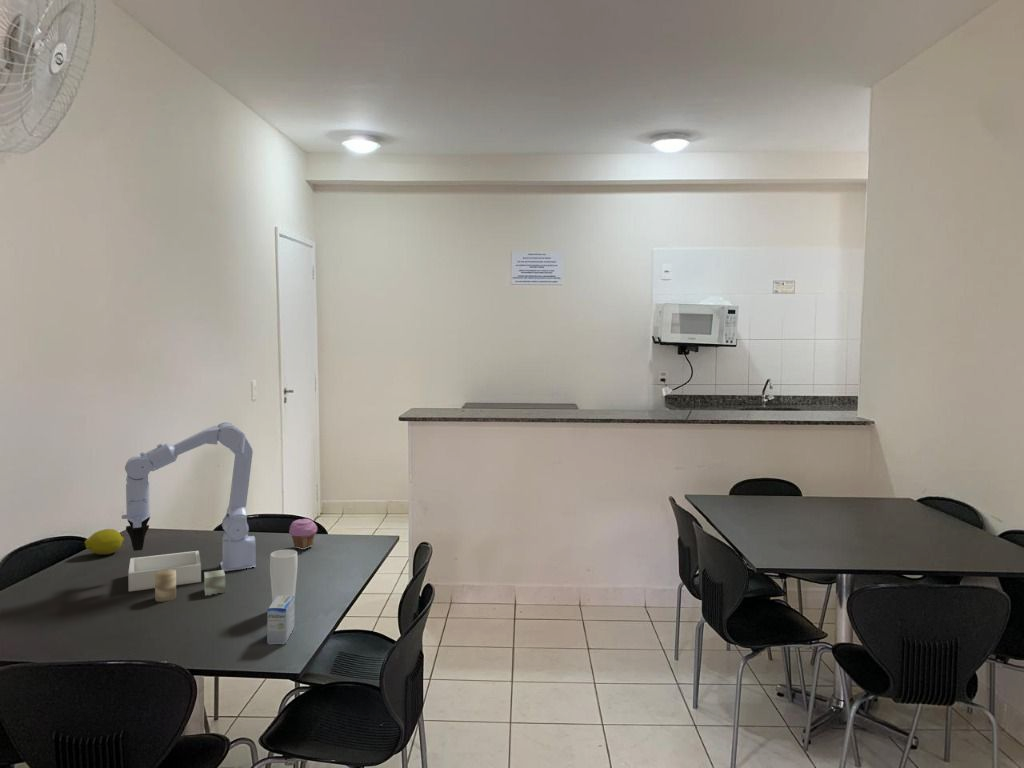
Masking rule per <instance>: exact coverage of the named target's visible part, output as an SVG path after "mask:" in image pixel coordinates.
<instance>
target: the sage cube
mask: <svg viewBox="0 0 1024 768" xmlns="http://www.w3.org/2000/svg"><path fill="white" fill-rule="evenodd" d="M203 575H204V576H203V580H204V581H203V582H204V583H203V585H204V586H203V590H204V595H205V597H207V595H208V596H213V595H212V594H215V595H218V594H217V593H222V594H224V593H223V592H225V593H226V574H225V571H224V570H222V569H219V570H211V571H204V572H203Z"/></svg>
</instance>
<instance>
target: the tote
mask: <svg viewBox="0 0 1024 768" xmlns="http://www.w3.org/2000/svg"><path fill="white" fill-rule="evenodd" d="M128 566H129V568H128V578H127V579H128V583H127V584H128V592H135V591H144V590H149V589H150V590H151V589H155V573H156V572H158V571H161V570H166V569H173V570H176V586H180V585H188V584H189V585H190V584H194V583H201V582H202V562H201V557H200V551H199V550H195V551H194V550H193V551H183V552H175V553H166V554H158V555H149V556H139V557H138V556H137V557H130V560H129V565H128Z"/></svg>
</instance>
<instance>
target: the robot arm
mask: <svg viewBox="0 0 1024 768" xmlns="http://www.w3.org/2000/svg"><path fill="white" fill-rule="evenodd" d="M218 442H219V443H220V444H221V445H223V446H224V447H225V448H228V449H229V451H231V452H232V453H233V454H234V461H233V469H232V479H231V484H230V486H231V487H230V494H229V502H228V507H227V508H226V513H225V516H224V518H223V519H222V521H221V528H222V529H223V530H224V531H225V532H224V534H223V536H222V543H221V544H222V561H221V562H220V563H219V565H220V568H221V569H220V570H224V572H229V571H237V570H245V569H246V568H247V569H253V568H252V567H254V568H256V567H257V566H256V565H257V564H256V562H257V561H256V559H257V553H256V550H257V549H256V537H255V535H249V531H250V528H249V527H250V526H249V524H248V522H247V520H248V519H247V518H248V513H247V504H248V503H247V501H248V495H249V485H250V478H251V477H250V476H251V469H252V460H253V455H254V454H253V453H254V452H253V451H254V450H253V447H252V446H251V444H250V442H249V440H248V439H247V437H246V434H245V433H244V432H243V431H242V430H241V429H239V428H238V427H236V426H235V425H233V424H232V423H231V422H221V423H219V424H218V425H213V426H210V427H208V428H205V429H203V430H201V431H199V432H197V433H195V434H193V435H191V436H189V437H187V438H185V439H183V440H181V441H179V442H176V443H175V444H170V443H164V444H162V443H159V444H157V445H156V447H155V448H153V449H151V450H148V451H146V452H144V451H143V452H140V453H139V455H138V456H137V455H135V456H132V457H131V458H128V460H127V461H126V463H125V466H124V470H125V473H126V484H125V501H126V512H125V513H126V514H122V515H121V519H122V520H127V522H128V524H129V525H127V526H125V531H126V532H127V533H128V536H129V538H130V541H131V546H132V549H133V552H135V551H142V550H143V549H144V543H145V537H146V535H147V531H148V530H149V527H150V524H148V523H149V521H150V518H151V512H150V511H151V510H150V482H149V474H150V472H155V471H158V470H159V469H161V468H164V467H165V466H168V465H171V464H173V463H174V462H176V460H177V459H178V457H179V456H180V455H182V454H184V453H187V452H189V451H191V450H193V449H196V448H198V447H201V446H205V445H218Z"/></svg>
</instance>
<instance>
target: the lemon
mask: <svg viewBox="0 0 1024 768" xmlns="http://www.w3.org/2000/svg"><path fill="white" fill-rule="evenodd" d="M124 540H125V538H124V537H123V536H122V535H121V533H120V532H119V531H118V530H116V529H112V528H111V529H110V528H106V529H102V530H98V531H96V532H94V533H93V534H92V535H91V536H89V537H88V538H87V539H85V540H84V546H85V548H86V549H88V550H89V551H90V552H92V553H94V554H96V555H101V556H105V555H111V554H114V553H115V552H116V551H118V550H119V549H120V548H121V546H122V544H123V542H124Z"/></svg>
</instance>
